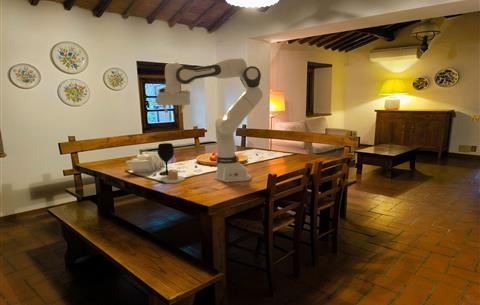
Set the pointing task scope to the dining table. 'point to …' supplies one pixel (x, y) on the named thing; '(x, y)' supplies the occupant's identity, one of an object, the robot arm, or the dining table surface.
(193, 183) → the dining table surface
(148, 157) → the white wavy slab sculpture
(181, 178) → the tile
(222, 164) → the robot arm
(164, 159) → the wine glass
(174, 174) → the orange cube
